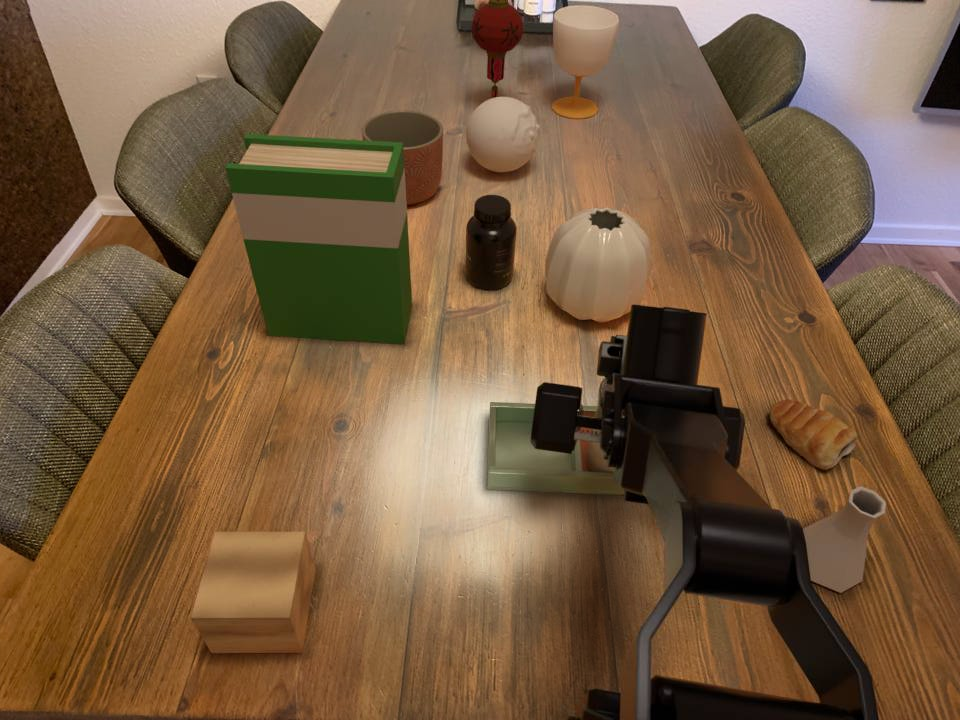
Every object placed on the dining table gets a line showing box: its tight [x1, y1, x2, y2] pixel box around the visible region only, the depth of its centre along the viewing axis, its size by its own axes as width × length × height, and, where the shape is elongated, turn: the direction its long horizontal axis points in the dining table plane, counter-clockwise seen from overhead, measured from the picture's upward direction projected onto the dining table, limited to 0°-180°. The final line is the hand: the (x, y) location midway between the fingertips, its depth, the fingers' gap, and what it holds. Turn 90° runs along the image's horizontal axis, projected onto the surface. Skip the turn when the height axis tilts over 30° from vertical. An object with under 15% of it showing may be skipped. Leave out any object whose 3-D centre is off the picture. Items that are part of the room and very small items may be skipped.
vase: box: [544, 206, 652, 323], centre depth 93 cm, size 14×14×13 cm
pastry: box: [769, 399, 858, 471], centre depth 80 cm, size 9×7×4 cm
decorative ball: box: [465, 96, 541, 173], centre depth 118 cm, size 12×12×12 cm
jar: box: [586, 377, 614, 473], centre depth 74 cm, size 7×7×11 cm
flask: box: [803, 485, 887, 594], centre depth 67 cm, size 7×7×10 cm
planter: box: [361, 109, 444, 205], centre depth 112 cm, size 12×12×11 cm
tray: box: [486, 401, 624, 496], centre depth 78 cm, size 10×19×3 cm, turn 88°
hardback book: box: [225, 133, 413, 345], centre depth 85 cm, size 18×7×24 cm, turn 86°
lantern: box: [470, 0, 524, 99], centre depth 127 cm, size 10×10×30 cm
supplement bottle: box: [464, 194, 518, 291], centre depth 97 cm, size 7×7×12 cm
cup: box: [551, 4, 620, 120], centre depth 132 cm, size 12×12×17 cm
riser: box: [190, 531, 317, 654], centre depth 63 cm, size 8×8×7 cm
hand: (624, 421), depth 73 cm, fingers open, 9 cm apart
